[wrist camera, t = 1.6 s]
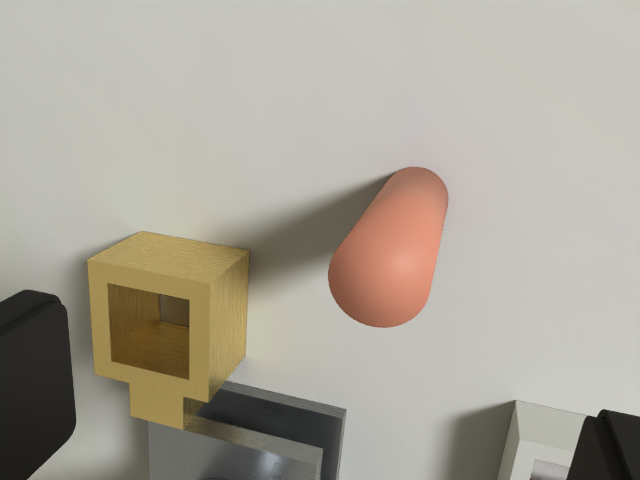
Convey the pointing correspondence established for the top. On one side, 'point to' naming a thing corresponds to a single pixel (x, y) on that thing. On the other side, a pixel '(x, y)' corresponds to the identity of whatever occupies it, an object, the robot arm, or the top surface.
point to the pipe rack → (538, 439)
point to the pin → (391, 251)
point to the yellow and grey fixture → (200, 367)
